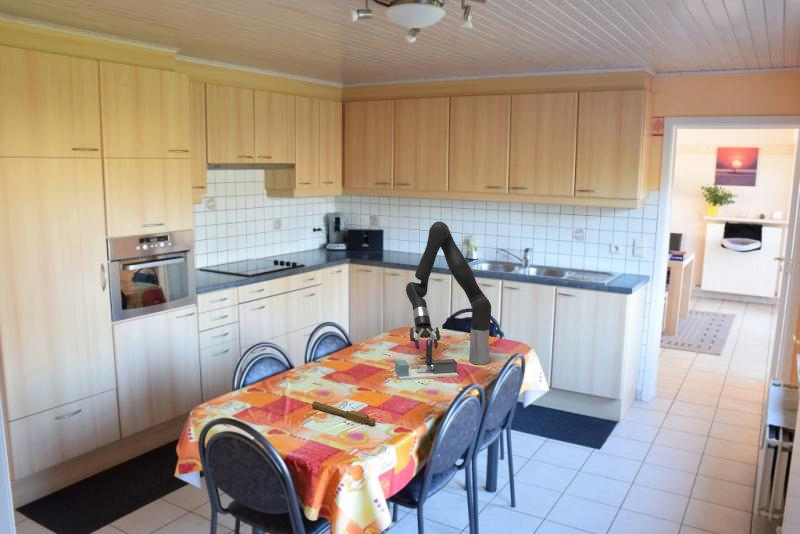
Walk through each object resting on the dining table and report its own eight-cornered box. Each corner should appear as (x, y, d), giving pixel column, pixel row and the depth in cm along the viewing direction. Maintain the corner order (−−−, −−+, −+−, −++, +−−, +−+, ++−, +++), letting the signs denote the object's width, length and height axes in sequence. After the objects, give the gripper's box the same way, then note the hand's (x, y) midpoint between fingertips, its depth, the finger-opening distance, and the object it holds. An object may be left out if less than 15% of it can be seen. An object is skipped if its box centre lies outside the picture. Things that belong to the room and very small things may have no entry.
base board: (451, 369, 309) (451, 367, 309) (458, 376, 298) (458, 374, 298) (394, 372, 302) (394, 370, 302) (399, 380, 292) (399, 377, 292)
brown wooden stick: (316, 399, 258) (377, 417, 242) (316, 407, 259) (377, 425, 243) (311, 402, 256) (372, 420, 240) (311, 409, 256) (372, 427, 240)
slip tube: (450, 368, 305) (451, 338, 302) (453, 370, 301) (454, 340, 299) (415, 370, 301) (416, 339, 298) (417, 372, 297) (418, 341, 295)
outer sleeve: (453, 369, 306) (453, 359, 305) (456, 372, 301) (457, 362, 300) (430, 370, 303) (431, 360, 303) (434, 373, 298) (434, 363, 298)
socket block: (404, 370, 302) (404, 359, 301) (408, 376, 294) (408, 364, 293) (395, 371, 301) (395, 360, 300) (399, 376, 293) (399, 365, 292)
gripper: (408, 314, 306) (414, 345, 297) (437, 314, 309) (443, 343, 300) (405, 322, 312) (410, 352, 303) (434, 322, 315) (439, 351, 306)
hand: (427, 348), depth 301 cm, fingers open, 8 cm apart
